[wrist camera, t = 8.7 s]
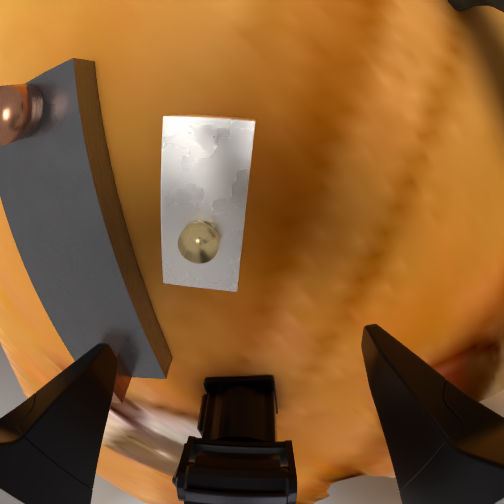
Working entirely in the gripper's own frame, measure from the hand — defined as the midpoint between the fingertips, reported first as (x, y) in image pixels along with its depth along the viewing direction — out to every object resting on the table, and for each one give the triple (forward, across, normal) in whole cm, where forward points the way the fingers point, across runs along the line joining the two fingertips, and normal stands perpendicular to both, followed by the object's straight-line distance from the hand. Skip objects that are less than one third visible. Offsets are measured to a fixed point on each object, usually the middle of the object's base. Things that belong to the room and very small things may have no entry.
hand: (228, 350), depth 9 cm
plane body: (+10, +12, -1) cm, 16 cm away
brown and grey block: (+11, +1, -3) cm, 11 cm away
